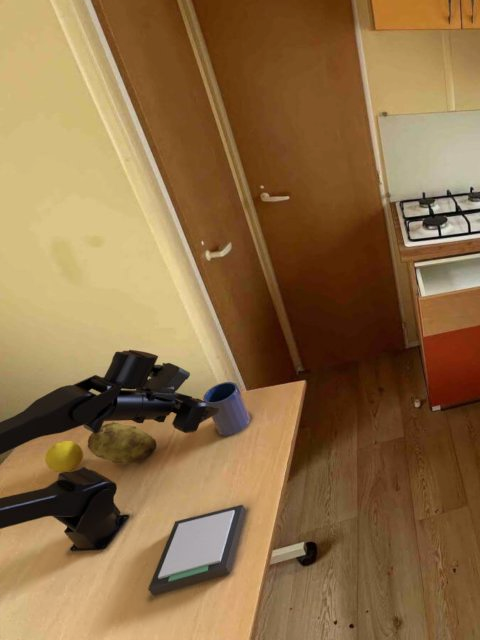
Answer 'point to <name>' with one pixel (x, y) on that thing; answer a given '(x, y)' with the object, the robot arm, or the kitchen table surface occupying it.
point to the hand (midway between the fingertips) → (204, 404)
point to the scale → (199, 550)
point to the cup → (227, 408)
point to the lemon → (64, 456)
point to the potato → (121, 443)
